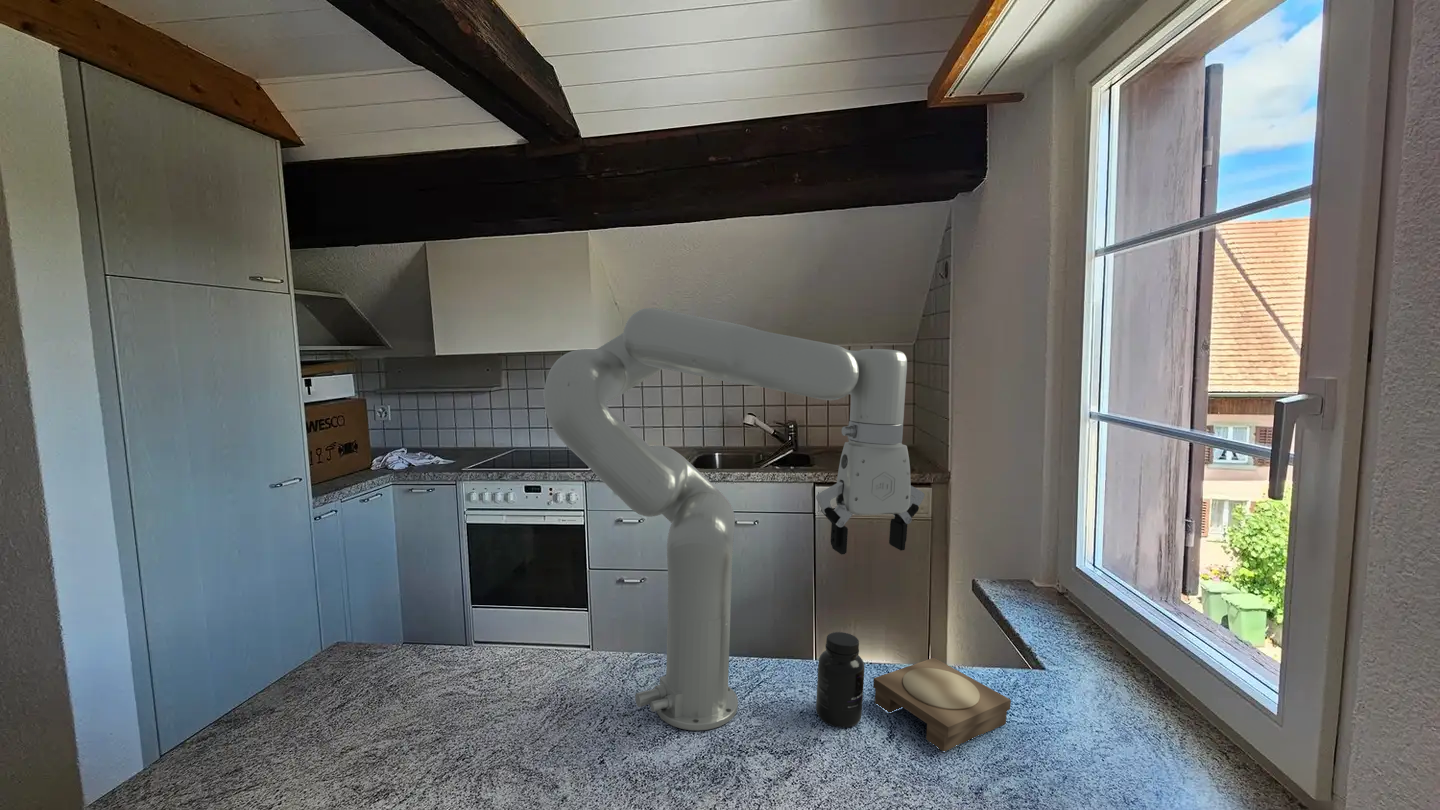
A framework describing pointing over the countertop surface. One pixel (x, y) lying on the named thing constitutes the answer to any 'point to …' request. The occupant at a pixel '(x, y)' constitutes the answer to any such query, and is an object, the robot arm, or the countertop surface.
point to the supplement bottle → (840, 681)
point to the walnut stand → (942, 701)
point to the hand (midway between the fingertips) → (868, 549)
